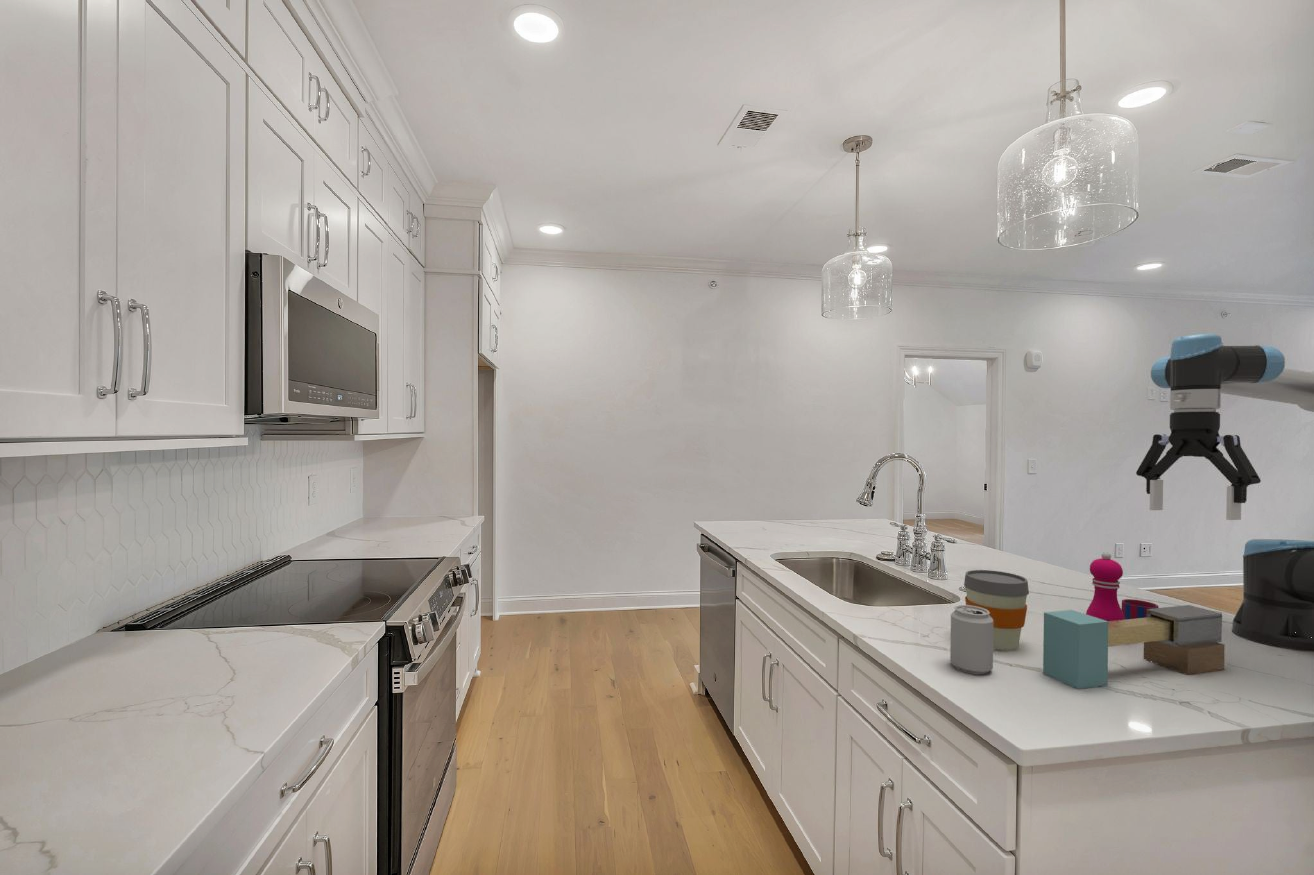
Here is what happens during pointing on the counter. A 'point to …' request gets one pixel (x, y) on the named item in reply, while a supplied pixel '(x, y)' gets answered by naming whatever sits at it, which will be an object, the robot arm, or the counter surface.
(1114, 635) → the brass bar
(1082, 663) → the socket block
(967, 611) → the can
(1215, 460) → the robot arm
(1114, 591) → the pepper mill
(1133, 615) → the cup
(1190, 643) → the sleeve stand
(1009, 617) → the reusable coffee cup
